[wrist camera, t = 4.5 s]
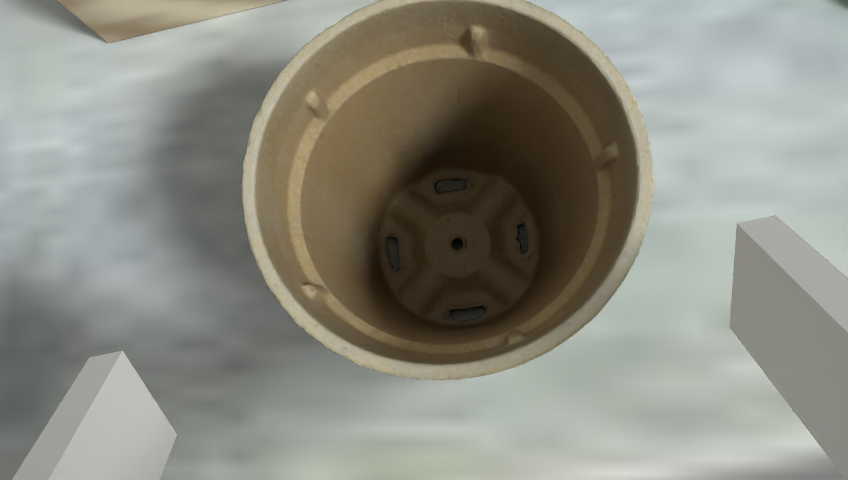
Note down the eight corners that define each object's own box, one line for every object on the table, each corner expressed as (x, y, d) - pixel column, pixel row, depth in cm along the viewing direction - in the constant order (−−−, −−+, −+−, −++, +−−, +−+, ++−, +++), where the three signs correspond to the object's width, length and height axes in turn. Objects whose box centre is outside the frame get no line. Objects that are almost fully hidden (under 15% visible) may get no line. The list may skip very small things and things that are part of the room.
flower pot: (502, 82, 23) (505, -82, 15) (644, 289, 21) (746, 233, 12) (294, 206, 23) (177, 112, 15) (414, 427, 21) (358, 465, 12)
